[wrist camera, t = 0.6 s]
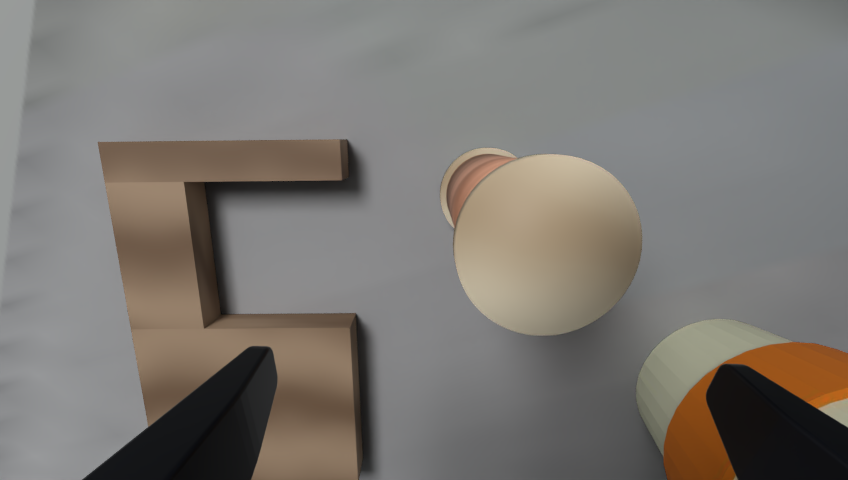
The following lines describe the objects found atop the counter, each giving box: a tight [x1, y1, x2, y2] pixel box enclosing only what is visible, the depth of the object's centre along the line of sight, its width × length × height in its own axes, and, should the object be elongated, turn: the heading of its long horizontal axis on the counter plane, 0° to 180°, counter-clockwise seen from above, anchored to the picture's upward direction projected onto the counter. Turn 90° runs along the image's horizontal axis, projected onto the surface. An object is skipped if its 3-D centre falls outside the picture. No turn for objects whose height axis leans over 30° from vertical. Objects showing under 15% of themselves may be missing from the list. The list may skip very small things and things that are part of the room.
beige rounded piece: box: [440, 148, 642, 336], centre depth 18 cm, size 5×5×12 cm
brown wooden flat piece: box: [98, 140, 363, 480], centre depth 24 cm, size 20×12×2 cm, turn 1°
